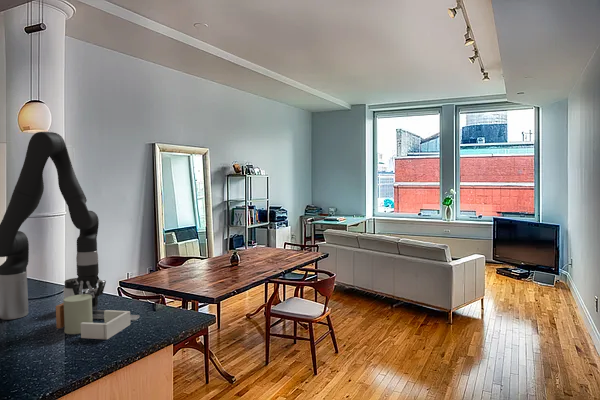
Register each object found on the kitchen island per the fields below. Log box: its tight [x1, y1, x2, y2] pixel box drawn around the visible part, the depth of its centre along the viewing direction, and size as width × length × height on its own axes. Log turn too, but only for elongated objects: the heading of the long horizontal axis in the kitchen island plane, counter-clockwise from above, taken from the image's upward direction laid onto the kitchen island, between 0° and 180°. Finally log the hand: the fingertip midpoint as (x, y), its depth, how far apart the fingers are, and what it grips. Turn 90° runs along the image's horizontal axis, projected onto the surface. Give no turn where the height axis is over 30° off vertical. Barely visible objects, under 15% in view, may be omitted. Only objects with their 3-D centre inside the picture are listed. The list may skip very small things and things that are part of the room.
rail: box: [92, 314, 140, 322], centre depth 164 cm, size 26×3×1 cm, turn 81°
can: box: [62, 294, 94, 335], centre depth 152 cm, size 9×9×12 cm
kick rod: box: [55, 291, 106, 329], centre depth 158 cm, size 12×18×8 cm
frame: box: [80, 309, 131, 340], centre depth 150 cm, size 10×14×5 cm, turn 171°
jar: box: [63, 277, 89, 299], centre depth 176 cm, size 9×8×12 cm
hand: (88, 306), depth 165 cm, fingers closed on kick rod, 4 cm apart
